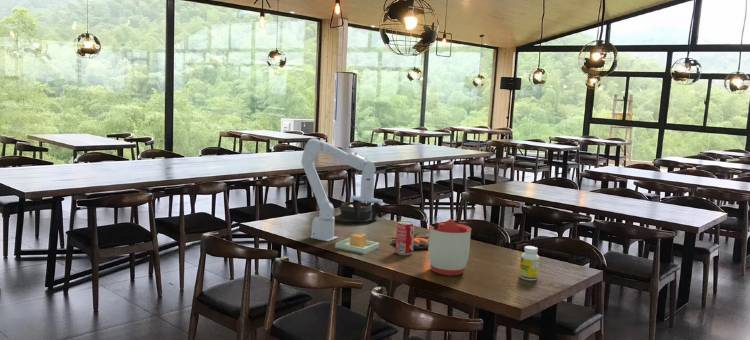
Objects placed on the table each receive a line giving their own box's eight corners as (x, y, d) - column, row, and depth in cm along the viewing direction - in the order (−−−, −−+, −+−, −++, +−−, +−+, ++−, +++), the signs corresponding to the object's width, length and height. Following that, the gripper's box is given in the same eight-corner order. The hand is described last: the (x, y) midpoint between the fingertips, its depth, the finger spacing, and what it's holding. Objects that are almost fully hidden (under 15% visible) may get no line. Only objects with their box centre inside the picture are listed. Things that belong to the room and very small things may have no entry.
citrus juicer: (437, 261, 236) (440, 211, 234) (476, 272, 226) (480, 219, 223) (414, 269, 224) (417, 217, 222) (453, 280, 214) (457, 226, 211)
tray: (335, 248, 248) (335, 242, 248) (351, 242, 259) (351, 237, 258) (364, 254, 241) (364, 248, 241) (379, 248, 252) (379, 243, 251)
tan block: (349, 246, 249) (350, 234, 249) (356, 244, 254) (356, 232, 253) (359, 248, 247) (360, 236, 246) (366, 246, 251) (366, 234, 250)
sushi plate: (402, 252, 248) (403, 243, 248) (377, 234, 276) (377, 226, 275) (464, 249, 258) (465, 241, 258) (434, 232, 286) (434, 224, 286)
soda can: (412, 256, 242) (414, 225, 240) (394, 255, 243) (396, 223, 241) (413, 251, 249) (415, 221, 247) (396, 250, 250) (397, 219, 248)
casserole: (348, 227, 286) (348, 210, 285) (324, 219, 299) (325, 203, 298) (386, 221, 302) (387, 205, 301) (362, 214, 316) (363, 199, 315)
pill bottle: (516, 275, 224) (519, 244, 223) (533, 275, 225) (536, 245, 223) (522, 280, 218) (525, 249, 216) (539, 281, 218) (542, 250, 217)
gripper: (348, 187, 261) (346, 218, 263) (378, 191, 255) (376, 222, 257) (355, 185, 267) (354, 215, 269) (385, 189, 261) (383, 219, 263)
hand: (365, 218), depth 263 cm, fingers open, 7 cm apart
